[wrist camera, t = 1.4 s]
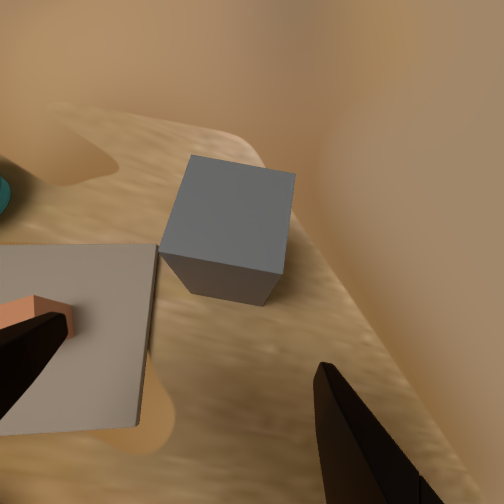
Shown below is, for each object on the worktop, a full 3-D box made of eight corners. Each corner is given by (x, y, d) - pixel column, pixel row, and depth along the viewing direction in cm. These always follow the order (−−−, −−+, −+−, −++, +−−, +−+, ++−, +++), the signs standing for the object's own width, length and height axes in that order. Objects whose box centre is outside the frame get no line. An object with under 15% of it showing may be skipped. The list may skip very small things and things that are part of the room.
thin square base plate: (139, 423, 18) (107, 448, 13) (-72, 437, 17) (-183, 469, 12) (158, 247, 23) (140, 222, 18) (-2, 248, 22) (-62, 222, 17)
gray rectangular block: (262, 306, 22) (282, 274, 12) (190, 293, 22) (157, 251, 12) (272, 241, 24) (295, 173, 15) (208, 229, 24) (191, 154, 15)
